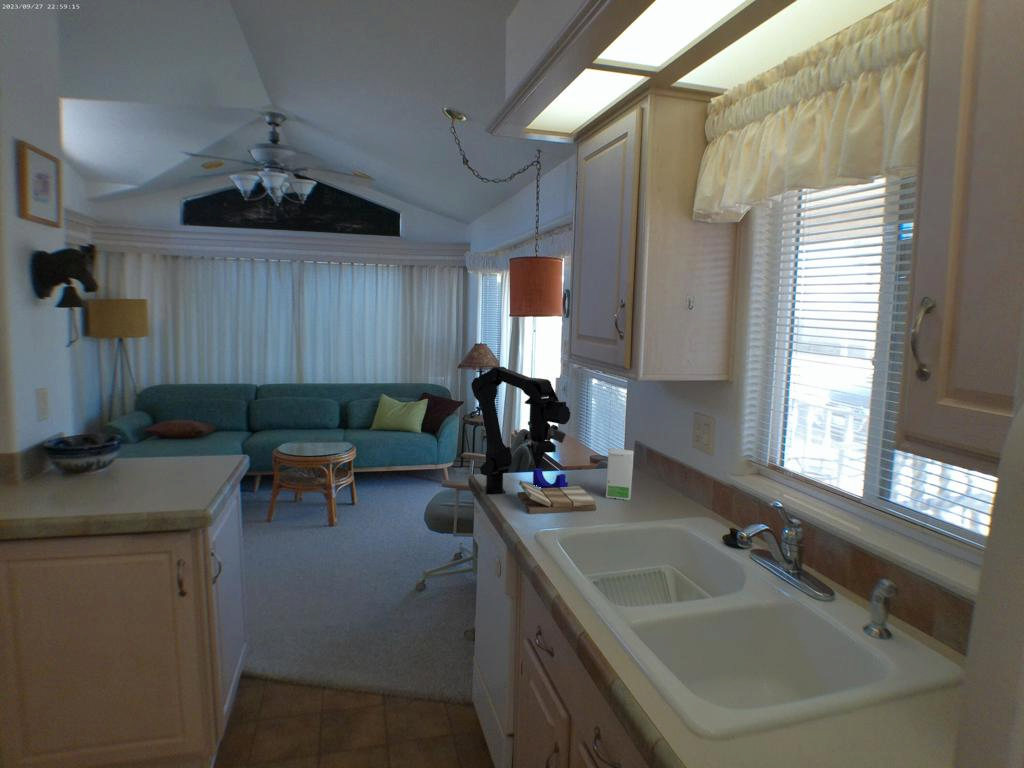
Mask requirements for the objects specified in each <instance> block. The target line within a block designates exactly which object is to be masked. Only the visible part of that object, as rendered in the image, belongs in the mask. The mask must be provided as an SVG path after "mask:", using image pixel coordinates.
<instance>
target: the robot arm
mask: <svg viewBox="0 0 1024 768" xmlns="http://www.w3.org/2000/svg"><path fill="white" fill-rule="evenodd" d="M502 383H505V384H508V385H510V386H513V387H515V388H517V389H520V390H521V391H523V393H524V395H525V396H528V397H529V398H528V399H527V400H525V401H524V404H525V405H526V404H527V405H529V421H527V426H529V431H528V430H526V431H523V432H522V433H521V440H522V441H523V442H526V440H528V444H527V443H526V445H525V446H526V447H527V451H528V453H529V455H530V457H531V461H532V463H533V467H534V468H535V469H538V468H540V466H541V463H542V461H543V457H544V455H545V454H546V453H547V454H549V453H556V452H557V451H556V449H557V446H556V444H554V442H552V441H551V440H553V441H557V442H558V443H559V444H563V443H564V440H565V437H566V433H565V432H564V431H562V430H560V429H559V426H557V425H559V424H560V425H566V424H568V422H569V421H570V418H571V412H570V407H569V406H568V405H567V402H566V401H560V400H559V398H558V396H557V393H556V392H555V389H554V388H553V384H552V382H551V381H550V380H549V379H546V378H540V377H538V378H537V377H530V376H527V375H525V374H521V373H519V372H516V371H514V370H511V369H509V368H507V367H505V366H494V367H492V368H490V370H488V371H487V372H485V373H482V374H481V375H480V374H479V376H477V377H474V379H473V380H472V382H471V386H470V387H471V390H472V393H473V397H474V399H476V401H478V403H479V405H480V409H481V410H480V411H481V414H482V419H483V425H484V431H485V434H486V435H485V436H486V441H487V449H486V451H485V462H484V463H483V464H482V465H481V466H480V467H479V471H480V474H481V475H482V476H485V487H484V486H483V490H484V492H485V494H486V495H492V494H497V495H498V494H506V490H505V488H504V474H505V473H506V474H507V473H509V470H510V468H511V466H512V463H513V462H512V461H513V459H514V458H513V456H512V450H511V449H512V448H511V447H510V446H506V445H505V444H504V443H503V438H502V432H501V426H500V423H499V421H500V420H499V416H498V411H497V406H496V398H497V394H498V387H499V386H500V385H502ZM550 423H554V424H552V425H551V424H550ZM555 424H557V425H555Z"/></svg>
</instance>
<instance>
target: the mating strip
mask: <svg viewBox="0 0 1024 768" xmlns="http://www.w3.org/2000/svg"><path fill="white" fill-rule="evenodd" d="M539 489H540V490H541V491H542V493H543V494H544V495H545V496H546V497H547V499H548V500H549V501H550V502H551V505H552V507H566V506H572V502H571V501H570V500H569V499H568V498H567V497H566V496H565V495H564V494H563V493H562V492H561V490H560V489H559V488H539Z"/></svg>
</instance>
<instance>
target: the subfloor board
mask: <svg viewBox="0 0 1024 768" xmlns="http://www.w3.org/2000/svg"><path fill="white" fill-rule="evenodd" d="M516 496H518V497H517V498H518V500H519V499H520V500H519V501H520V502H521V504H522V506H525V507H524V508H525V509H527V510H526V511H527V512H528V514H529V515H539V514H560V513H575V511H576V513H578V512H577V511H582V512H595V510H596V511H597V505H596V504H595V505H580V506H573V505H572V506H566V507H552V505H550V507H549V506H547V505H544V504H542V503H540V502H537V501H535V500H533V499H530V498H529V497H528V495H527V494H526V493H525V491H517V495H516Z"/></svg>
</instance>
